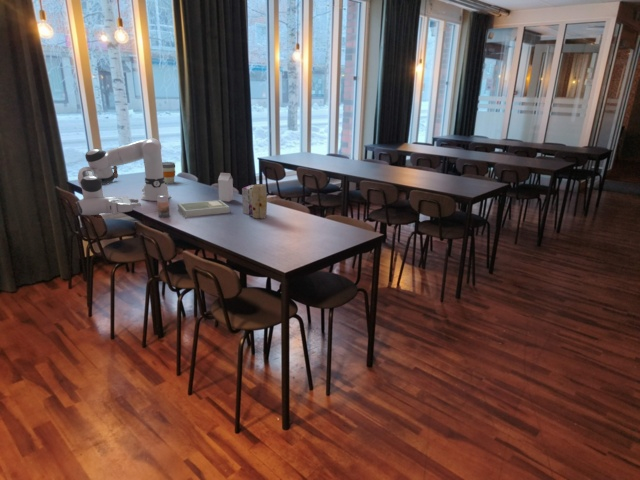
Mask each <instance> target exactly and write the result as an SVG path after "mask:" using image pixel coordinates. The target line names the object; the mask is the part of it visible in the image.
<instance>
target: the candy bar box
mask: <svg viewBox="0 0 640 480" xmlns="http://www.w3.org/2000/svg"><path fill="white" fill-rule="evenodd" d="M254 185H255V184H251V185H248V186H245V187H243V188H241V195H242V196H241V199H242V201H241V202H242V214H246V215H250V214H251V215H252V214H253V211H252V187H253V186H254Z"/></svg>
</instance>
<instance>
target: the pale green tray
mask: <svg viewBox="0 0 640 480" xmlns="http://www.w3.org/2000/svg"><path fill="white" fill-rule="evenodd" d="M213 201H214V200H205V201H195V202H194V201H193V202H183V203H177V208H178V209H177V211H178V212H179V214H181V215H182V217H183V218H185V220H186V219H187V218H191V217H198V216H208V215H218V214H227V213H228V214H229V213H230V211H231V210H230V209H231V208H230V206H229V205H228V204H226V203H225V201H221V200H219V199H216V200H215V201H218V202H219V203H221V204H222V205H223V207H217V208H208V202H213Z"/></svg>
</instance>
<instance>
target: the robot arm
mask: <svg viewBox="0 0 640 480" xmlns="http://www.w3.org/2000/svg"><path fill="white" fill-rule="evenodd" d="M84 156H85V160H86V162H87V164H88V166H83V167H81V168H80V169H79V171H78V172H77V173H78V174H77V181H78V184H79V187H80V188H81V190H82V191H81V192H82V199H80V200H77V201H76V207H77V211H78V212H79V214H80V215H82V216H95V215H96V216H97V215H101V214H113V215H118V214H121V213H128V212H132V211H133V210H134V209H135V208H139V207H141V206H142V203H141V202H139V198H129V197H128V196H119V197H115V196H107V197H106V196H104V193H103V185H108V184H107V183H109V184H111V183H110V182H112V183H113V181H114V180H115V179H116V178H115V175H114V169H112V168H111V167H113V166H117V167H118V166H123V165H126V164H130V163H134V162H137V161H140V160H143V166H144V176H145V177H144V183H145V185H144V187H141V192H142V194H141V197H140V198H141V201H149V202H150V201H151V202H152V201H156V202H157V196H158V195H168V199H170V198H172V196H171V195H170V194H169V189H168V185H167V184H165V179H164V177H163V165H162V162H163V159H162V144H161V142H160V141H159V140H158V139H157V138H154V137H152V138H151V137H150V138H146V139H143V140H138V141H136V142H132V143H130V144H128V143H127V144H125V145H121V146H120V145H119V146H118V147H117V146H116V147H115V148H111V149H109V150H106V151H105V150H102V149H99V148H94V149H90V150H88V151H87V152H86V153H85V155H84Z"/></svg>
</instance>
